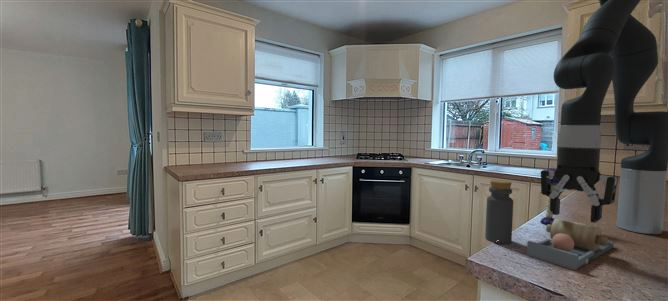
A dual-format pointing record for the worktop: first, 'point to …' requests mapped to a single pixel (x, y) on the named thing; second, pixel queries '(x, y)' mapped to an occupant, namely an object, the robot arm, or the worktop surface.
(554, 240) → the ball
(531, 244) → the grey long tray
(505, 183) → the bottle
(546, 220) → the toy lamp
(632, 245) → the worktop surface
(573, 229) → the maple rolling pin
